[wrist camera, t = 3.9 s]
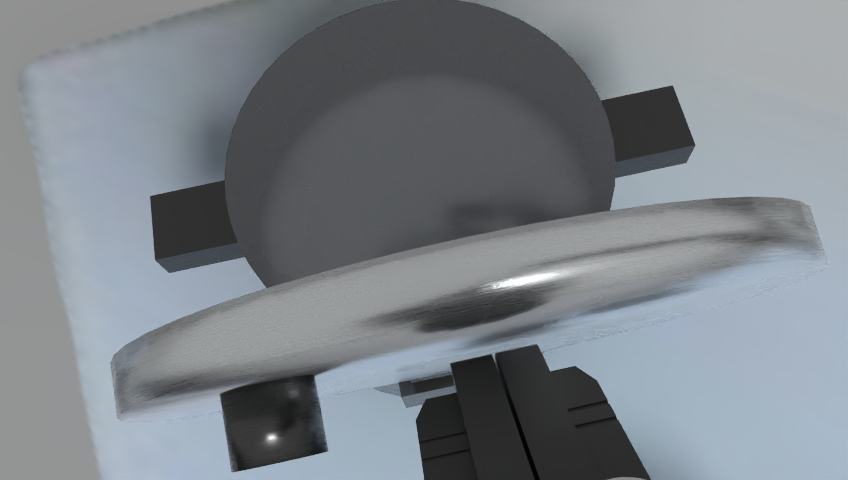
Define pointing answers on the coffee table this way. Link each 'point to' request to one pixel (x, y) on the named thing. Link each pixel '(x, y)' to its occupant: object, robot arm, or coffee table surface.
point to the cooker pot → (412, 147)
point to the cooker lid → (453, 313)
